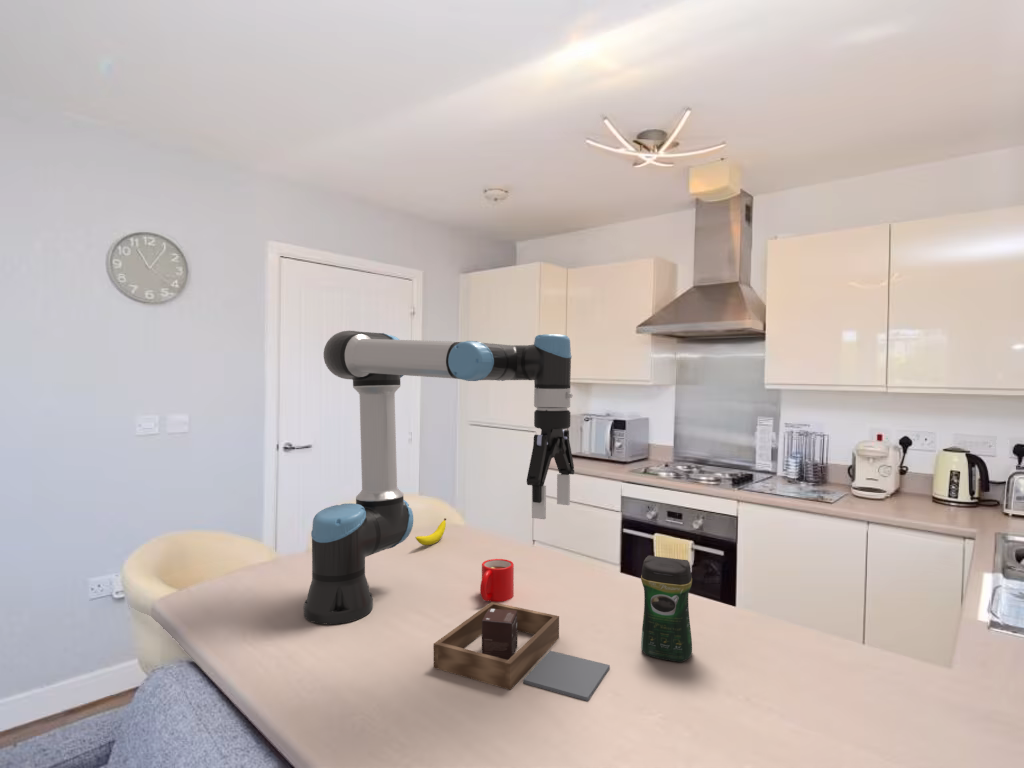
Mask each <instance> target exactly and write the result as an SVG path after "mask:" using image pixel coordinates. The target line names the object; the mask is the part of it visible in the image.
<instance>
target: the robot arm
mask: <svg viewBox="0 0 1024 768" xmlns="http://www.w3.org/2000/svg"><path fill="white" fill-rule="evenodd" d="M571 348H572V347H571V340H570V337H569V335H565V334H559V333H558V334H556V333H553V334H552V333H549V334H546V333H545V334H537V335H536V336H535V337H534V341H533V344H529V345H527V344H526V345H525V344H523V345H522V344H520V345H518V344H517V345H516V344H514V345H511V344H500V343H490V342H489V343H488V342H480V341H478V340H466V341H451V340H450V341H449V340H417V339H415V340H414V339H400V338H398V337H396V336H394V335H392V334H388V333H387V334H386V333H384V332H368V331H367V332H366V331H358V330H357V331H356V330H344V331H340V332H339V331H338V332H337V333H335V334H334V335H332V336H331V337H330V338H329V339H328V340H327V342H326V344H325V345H324V348H323V360H324V364H325V366H326V367H327V369H328V370H329V372H331V373H332V374H333V375H334V376H336V377H338V378H341V379H344V380H352V388H353V389H354V390H355V391H356V392H357V393H358V394H359V426H360V429H359V430H360V459H361V463H360V464H361V468H360V469H361V491H360V492H359V493H358V494H357V495H356V496H355V503H351V502H349V503H342V504H336V505H331V506H329V507H324V509H321V510H320V511H318V512H317V513H316V514H315V515H314V517H313V519H312V526H311V527H312V529H311V533H310V534H311V536H310V537H311V558H312V561H311V562H312V563H311V577H312V578H311V582H310V585H309V588H308V591H307V596H306V599H305V601H304V604H303V616H304V618H305V619H306V620H307V621H309V622H311V623H315V624H320V625H337V624H340V625H341V624H344V623H349V622H354V621H356V620H360V619H362V618H363V617H366V616H367V615H369V614H370V613H371V612H372V611H373V608H374V607H373V606H374V603H373V602H374V600H373V599H374V598H373V594H372V592H371V591H370V587H369V582H368V579H367V577H366V557H369V556H372V555H374V554H378V553H379V552H382V551H385V550H388V549H389V550H390V549H391V548H394V547H396V546H397V545H400V544H401V543H403V542H404V541H406V540H407V539H408V537H409V536H410V534H411V532H412V530H413V526H414V513H413V510H412V508H411V507H410V504H409V502H407V501H406V499H404V493H403V491H401V489H399V488H398V473H397V472H398V471H397V467H398V466H397V440H396V439H397V437H396V435H397V433H396V397H395V396H396V395H395V394H396V392H397V391H398V389H400V388H401V378H403V376H404V377H405V376H411V377H424V378H425V377H427V378H439V379H440V378H443V379H453V380H455V379H456V380H463V381H466V382H479V381H497V382H498V381H499V382H500V381H501V382H503V381H534V385H533V386H534V391H533V393H534V394H533V395H534V397H533V406H534V408H535V409H536V410H534V412H533V413H534V414H533V416H534V418H533V425H534V428H536V429H540V430H541V431H540V434H534V435H533V445H532V452H531V454H530V455H531V456H530V462H529V466H528V470H527V471H528V472H527V476H526V484H527V486H531V518H532V519H539V520H546V519H547V485H545V482H546V478H547V475H548V471H549V467H550V464H551V462H552V459H554V462H555V465H556V467H557V470H558V474H557V475H556V481H557V482H556V505H563V506H570V505H571V475H575V465H574V459H573V453H572V448H571V442H570V431H569V429H570V427H571V411H570V410H568V408H570V407H571V399H572V398H573V394H572V393H571V368H572V367H571V366H572V356H573V355H572V352H571V351H572V350H571Z"/></svg>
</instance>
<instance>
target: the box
mask: <svg viewBox="0 0 1024 768" xmlns="http://www.w3.org/2000/svg"><path fill="white" fill-rule="evenodd" d="M517 648H518V631H517V611H514V610H501V609H488V611H487V613H486V614H485V616H484V618H483V620H482V634H481V653H483V654H487V655H490V656H494V657H498V658H502V659H506V660H509V659H510V658H511V657H512V656H513V655H514V654H515V653H516V652H517Z"/></svg>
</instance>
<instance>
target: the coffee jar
mask: <svg viewBox="0 0 1024 768" xmlns="http://www.w3.org/2000/svg"><path fill="white" fill-rule="evenodd" d="M691 569H692V568H691V564H690V561H689V560H688V559H679V558H671V557H665V556H655V555H647V557H645V559H644V560H643V563H642V568H641V576H640V579H641V584H642V586H643V587H642V588H643V591H644V592H643V593H644V598H643V599H644V603H643V604H644V605H643V616H642V617H643V618H642V628H641V637H640V638H641V640H640V642H641V643H640V645H641V646H640V648H641V651H642V652H643V653H644V654H645V655H647V656H648V657H653V658H656V659H660V660H665V661H666V660H667V661H672V662H680V663H682V662H685V661H687V660H689V659H690V658H691V656H692V654H693V638H692V629H691V622H690V610H689V609H690V608H689V607H690V606H689V594H690V590H691V588H692V584H693V578H692V577H693V576H692V570H691Z"/></svg>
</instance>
